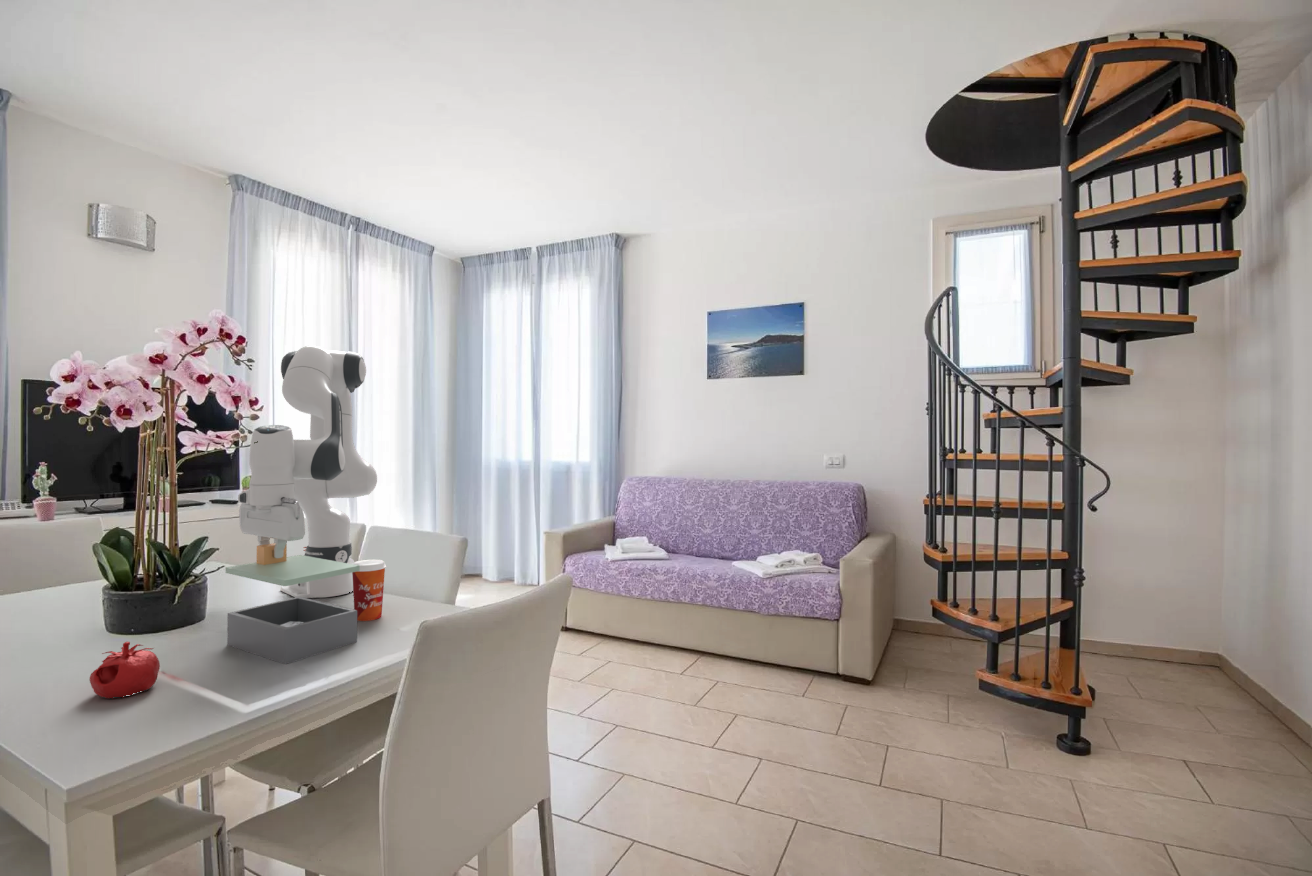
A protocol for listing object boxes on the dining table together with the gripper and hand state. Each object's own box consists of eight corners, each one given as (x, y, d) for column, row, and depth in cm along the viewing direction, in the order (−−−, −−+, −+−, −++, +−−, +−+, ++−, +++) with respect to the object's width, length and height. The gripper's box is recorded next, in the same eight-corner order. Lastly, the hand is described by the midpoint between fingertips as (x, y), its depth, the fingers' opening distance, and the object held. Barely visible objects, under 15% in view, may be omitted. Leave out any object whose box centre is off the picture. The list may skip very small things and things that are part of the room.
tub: (227, 649, 137) (227, 613, 137) (299, 629, 151) (299, 596, 151) (285, 669, 126) (285, 629, 126) (357, 645, 140) (357, 610, 140)
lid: (225, 572, 137) (225, 549, 137) (300, 559, 151) (300, 538, 151) (284, 586, 125) (285, 560, 125) (359, 570, 140) (359, 547, 140)
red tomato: (152, 676, 122) (152, 629, 122) (166, 690, 115) (167, 640, 115) (84, 692, 114) (84, 642, 114) (95, 708, 108) (95, 655, 108)
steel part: (277, 639, 140) (277, 626, 140) (290, 634, 144) (290, 621, 144) (292, 640, 140) (292, 627, 140) (305, 635, 144) (305, 622, 144)
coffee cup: (360, 628, 152) (361, 567, 152) (344, 621, 157) (344, 562, 157) (392, 620, 159) (393, 561, 159) (376, 614, 164) (376, 557, 164)
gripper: (313, 497, 140) (312, 559, 140) (262, 492, 150) (261, 549, 150) (284, 500, 135) (284, 564, 135) (233, 494, 145) (233, 554, 145)
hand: (272, 556), depth 143 cm, fingers closed on lid, 3 cm apart
